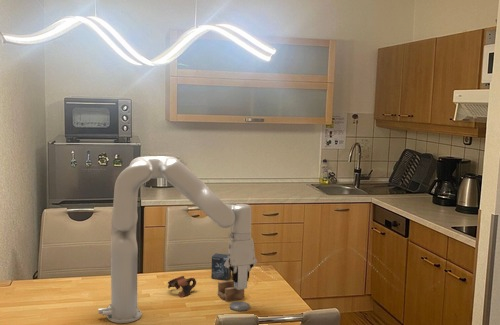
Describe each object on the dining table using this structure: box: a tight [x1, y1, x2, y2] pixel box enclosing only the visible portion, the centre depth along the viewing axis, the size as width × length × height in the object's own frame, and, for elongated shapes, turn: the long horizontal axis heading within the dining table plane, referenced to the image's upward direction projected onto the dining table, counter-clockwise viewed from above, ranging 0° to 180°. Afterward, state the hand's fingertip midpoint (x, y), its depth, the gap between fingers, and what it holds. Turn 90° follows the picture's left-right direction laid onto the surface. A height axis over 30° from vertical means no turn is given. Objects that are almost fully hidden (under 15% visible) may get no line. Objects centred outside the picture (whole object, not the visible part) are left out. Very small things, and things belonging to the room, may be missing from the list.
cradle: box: [217, 279, 245, 302], centre depth 219 cm, size 9×9×5 cm
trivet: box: [229, 300, 251, 312], centre depth 208 cm, size 8×8×1 cm
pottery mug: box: [167, 275, 197, 298], centre depth 222 cm, size 12×10×8 cm
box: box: [211, 252, 232, 281], centre depth 240 cm, size 8×6×11 cm
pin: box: [234, 265, 248, 290], centre depth 206 cm, size 4×5×11 cm
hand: (240, 280), depth 207 cm, fingers closed on pin, 4 cm apart
